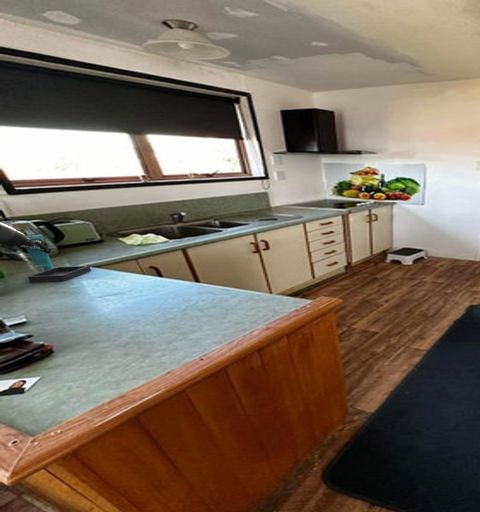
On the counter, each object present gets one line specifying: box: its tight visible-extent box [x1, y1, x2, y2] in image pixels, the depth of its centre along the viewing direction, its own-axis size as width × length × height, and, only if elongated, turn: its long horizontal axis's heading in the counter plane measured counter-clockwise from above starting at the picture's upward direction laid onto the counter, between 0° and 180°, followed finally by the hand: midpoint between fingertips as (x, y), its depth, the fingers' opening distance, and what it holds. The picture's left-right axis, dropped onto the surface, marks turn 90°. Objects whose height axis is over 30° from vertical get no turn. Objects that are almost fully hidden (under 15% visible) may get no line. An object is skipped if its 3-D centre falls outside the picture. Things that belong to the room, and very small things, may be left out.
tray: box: [27, 265, 92, 283], centre depth 128 cm, size 15×13×3 cm
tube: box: [25, 233, 54, 273], centre depth 129 cm, size 7×5×19 cm, turn 123°
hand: (40, 252), depth 130 cm, fingers closed on tube, 6 cm apart
